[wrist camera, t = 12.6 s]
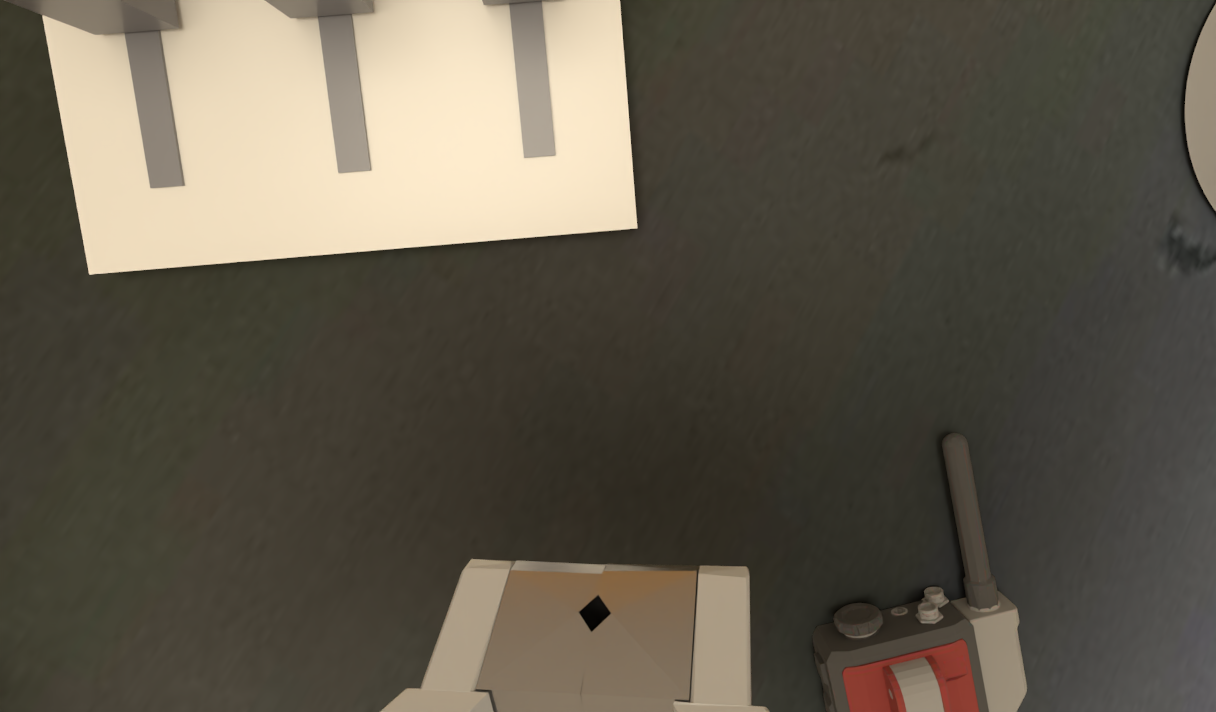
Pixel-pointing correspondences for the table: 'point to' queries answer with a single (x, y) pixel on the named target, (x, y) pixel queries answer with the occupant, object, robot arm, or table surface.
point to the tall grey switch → (505, 1)
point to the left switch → (107, 14)
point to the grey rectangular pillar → (321, 7)
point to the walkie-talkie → (930, 634)
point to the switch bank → (343, 129)
